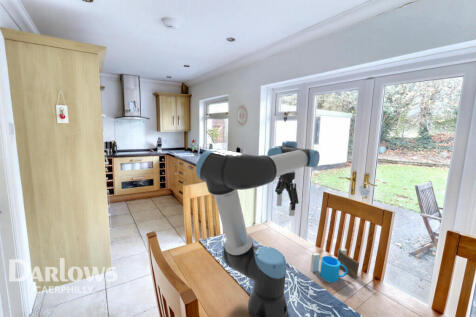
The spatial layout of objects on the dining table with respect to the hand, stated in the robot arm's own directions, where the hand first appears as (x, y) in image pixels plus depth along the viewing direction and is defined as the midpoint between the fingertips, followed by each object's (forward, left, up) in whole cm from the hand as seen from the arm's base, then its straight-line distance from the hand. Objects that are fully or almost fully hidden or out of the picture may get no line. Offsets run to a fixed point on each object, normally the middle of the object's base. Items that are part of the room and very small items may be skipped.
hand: (284, 210), depth 117 cm
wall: (-15, -19, -27) cm, 36 cm away
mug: (-21, -16, -27) cm, 38 cm away
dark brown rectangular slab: (-20, -26, -26) cm, 42 cm away
